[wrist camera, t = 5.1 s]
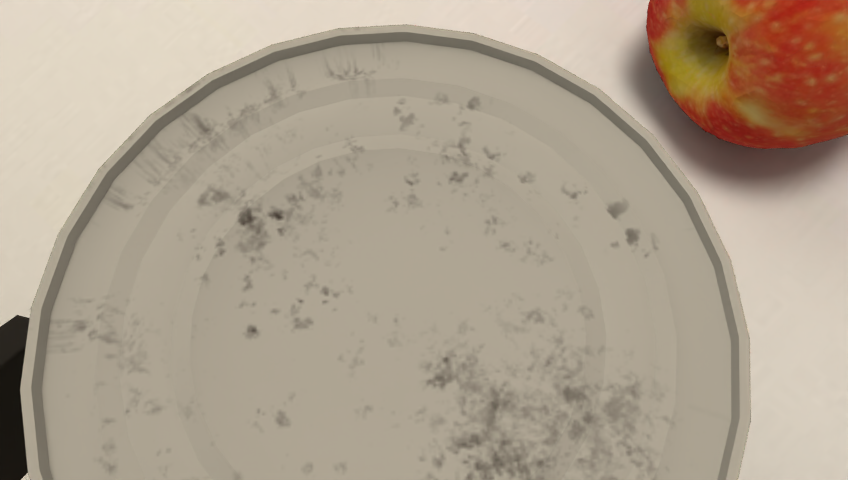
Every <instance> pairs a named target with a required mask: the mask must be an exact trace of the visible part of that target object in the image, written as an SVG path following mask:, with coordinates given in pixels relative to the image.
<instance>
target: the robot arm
mask: <svg viewBox="0 0 848 480" xmlns="http://www.w3.org/2000/svg"><path fill="white" fill-rule="evenodd" d="M29 319H30V318H27V317H23V316H19V315H17V316H15V317H14V318H12V319H11V320H10V321H8V322H7V323H5V324H4V325H2V326H1V327H0V480H21V479H22V478H23V477H24V476H25V475H26V474H27V473H28V468H27V458H26V447H25V437H24V426H23V415H22V405H21V394H20V386H21V379H22V371H23V364H24V356H25V349H26V342H27V334H28V327H29Z"/></svg>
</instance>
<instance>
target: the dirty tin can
mask: <svg viewBox="0 0 848 480" xmlns="http://www.w3.org/2000/svg"><path fill="white" fill-rule="evenodd" d="M20 394H21V405H22V415H23V426H24V437H25V447H26V458H27V468H28V476H29V478H30V480H738V477H739V472H740V468H741V463H742V459H743V454H744V449H745V445H746V440H747V436H748V431H749V427H750V422H751V399H750V337H749V333H748V329H747V325H746V321H745V316H744V312H743V308H742V304H741V300H740V296H739V292H738V287H737V283H736V279H735V275H734V271H733V267H732V263H731V260H730V258H729V256H728V253H727V251H726V249H725V247H724V245H723V243H722V241H721V239H720V237H719V235H718V233H717V231H716V229H715V227H714V225H713V223H712V221H711V218H710V216H709V214H708V212H707V210H706V208H705V206H704V204H703V202H702V200H701V198H700V196H699V194H698V192H697V191H696V189H695V188H694V187H693V186H692V184H691V183H690V182H689V180H688V179H687V178H686V177H685V175H684V174H683V173H682V171H681V170H680V169H679V168H678V166H677V165H676V164H675V162H674V161H673V160H672V159H671V157H670V156H669V155H668V153H667V152H666V151H665V150H664V148H663V147H662V146H661V144H660V143H659V142H658V141H657V139H656V138H655V137H654V135H653V134H652V133H650V132H649V131H648V130H647V129H646V128H645V127H643V126H642V125H641V124H640V123H639V122H638V121H636V120H635V119H634V118H633V117H632V116H630V115H629V114H628V113H627V112H626V111H625V110H623V109H622V108H621V107H620V106H619V105H618V104H616V103H615V102H614V101H613V100H612V99H611V98H609V97H608V96H607V95H606V94H605V93H604V92H602V91H601V90H600V89H599V88H597V87H595V86H593V85H592V84H590V83H588V82H586V81H585V80H583V79H581V78H579V77H577V76H576V75H574V74H572V73H570V72H569V71H567V70H565V69H563V68H561V67H560V66H558V65H556V64H554V63H553V62H551V61H549V60H547V59H545V58H544V57H542V56H540V55H538V54H535V53H532V52H529V51H526V50H523V49H520V48H517V47H514V46H511V45H508V44H505V43H502V42H499V41H496V40H493V39H490V38H487V37H484V36H480V35H477V34H474V33H468V32H460V31H452V30H445V29H437V28H430V27H422V26H414V25H407V24H406V25H388V26H370V27H352V28H338V29H333V30H329V31H325V32H321V33H317V34H313V35H309V36H305V37H301V38H297V39H293V40H289V41H285V42H281V43H277V44H273V45H270V46H268V47H266V48H263V49H261V50H259V51H257V52H255V53H253V54H250V55H248V56H246V57H244V58H242V59H239V60H237V61H235V62H233V63H231V64H229V65H226V66H224V67H222V68H220V69H218V70H215V71H213V72H211V73H209V74H207V75H206V76H204V77H203V78H201V79H200V80H199V81H197V82H196V83H194V84H193V85H192V86H190V87H189V88H187V89H186V90H185V91H183V92H182V93H180V94H179V95H178V96H176V97H175V98H173V99H172V100H171V101H169V102H168V103H166V104H165V105H164V106H162V107H161V108H159V109H158V110H156V111H155V112H154V113H152V114H151V115H149V117H148V118H147V119H146V120H145V121H144V122H143V123H142V124H141V125H140V126H139V127H138V128H137V129H136V130H135V131H134V132H133V133H132V134H131V136H130V137H129V138H128V139H127V140H126V141H125V142H124V143H123V144H122V145H121V146H120V147H119V148H118V149H117V150H116V151H115V152H114V153H113V154H112V156H111V157H110V158H109V159H108V160H107V161H106V162H105V163H104V164H103V165H102V166H101V167H100V168H99V169H98V171H97V173H96V174H95V176H94V177H93V179H92V181H91V182H90V184H89V185H88V187H87V189H86V190H85V192H84V193H83V195H82V197H81V198H80V200H79V201H78V203H77V205H76V206H75V208H74V209H73V211H72V213H71V214H70V216H69V217H68V219H67V221H66V222H65V224H64V225H63V227H62V229H61V230H60V232H59V233H58V236H57V238H56V241H55V244H54V247H53V249H52V252H51V255H50V258H49V260H48V263H47V266H46V268H45V271H44V274H43V277H42V279H41V282H40V285H39V288H38V290H37V293H36V296H35V298H34V301H33V304H32V307H31V312H30V319H29V327H28V334H27V342H26V349H25V356H24V364H23V371H22V379H21V386H20Z"/></svg>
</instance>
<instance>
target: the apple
mask: <svg viewBox="0 0 848 480" xmlns="http://www.w3.org/2000/svg"><path fill="white" fill-rule="evenodd" d="M646 28H647V30H646V31H647V36H648V42H649V49H650V53H651V55H652V58H653V62H654V63H655V66H656V70H657V71H658V73H659V75H660V76H661V79H662V81H663V82H664V85H665V86H666V88H667V90H668V92H669V94H670V95H671V97H672V98H673V99H674V100H675V102H676V103H677V104H678V105H679V107H680V108H681V109H682V110H683V111H684V112H685V113H686V114H687V115H688V116H689V117H690V118H691V120H692V121H694V122H695V123H696V124H697V125H699V126H700V127H701V128H702V129H703V130H705V132H709V133H710V134H713V135H715V136H716V137H717V138H719V139H722V140H725V141H728V142H731V143H735V144H738V145H742V146H747V147H753V148H762V149H769V148H798V147H804V146H808V145H811V144H815V143H819V142H823V141H827V140H831V139H835V138H838V137H841V136H844V135H847V134H848V0H650V2H649V5H648V10H647V25H646Z"/></svg>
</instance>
